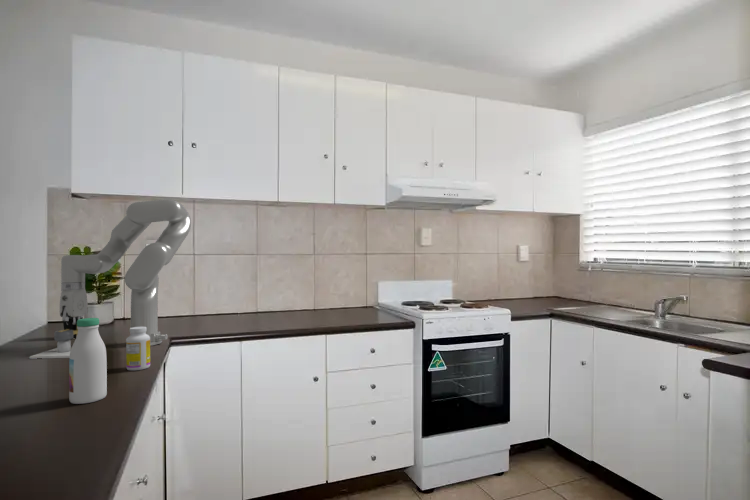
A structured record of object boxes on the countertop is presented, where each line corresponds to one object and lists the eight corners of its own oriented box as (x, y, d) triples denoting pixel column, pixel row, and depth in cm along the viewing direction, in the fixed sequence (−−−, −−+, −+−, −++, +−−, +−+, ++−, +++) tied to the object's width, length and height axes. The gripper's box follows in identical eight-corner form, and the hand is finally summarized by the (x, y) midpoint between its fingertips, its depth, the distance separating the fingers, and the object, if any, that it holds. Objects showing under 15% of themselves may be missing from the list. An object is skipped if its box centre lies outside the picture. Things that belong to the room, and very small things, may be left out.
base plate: (95, 348, 161) (95, 335, 161) (71, 357, 147) (71, 343, 147) (57, 349, 160) (57, 336, 161) (29, 358, 147) (29, 344, 147)
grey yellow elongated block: (66, 342, 151) (66, 328, 151) (50, 343, 151) (50, 329, 151) (88, 336, 163) (88, 323, 163) (74, 336, 163) (74, 323, 163)
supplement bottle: (145, 364, 137) (145, 325, 138) (154, 367, 133) (153, 327, 133) (122, 368, 132) (122, 328, 132) (131, 372, 128) (131, 330, 128)
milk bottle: (113, 393, 108) (113, 316, 108) (94, 404, 101) (94, 321, 101) (82, 394, 108) (82, 316, 108) (61, 405, 100) (61, 321, 100)
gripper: (70, 288, 155) (70, 338, 155) (95, 285, 170) (95, 330, 170) (49, 288, 155) (49, 338, 154) (75, 285, 170) (75, 331, 169)
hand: (73, 334), depth 162 cm, fingers closed
